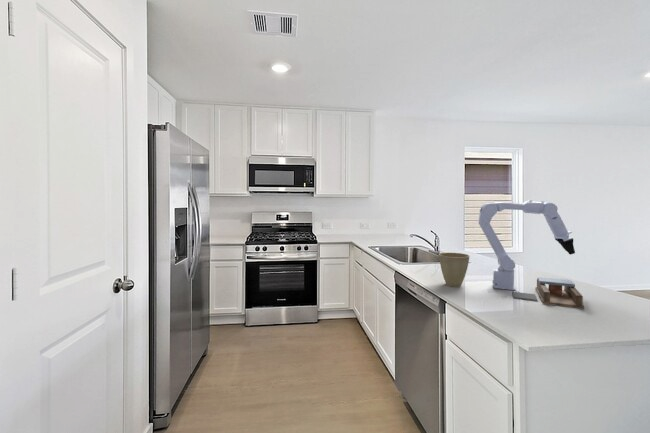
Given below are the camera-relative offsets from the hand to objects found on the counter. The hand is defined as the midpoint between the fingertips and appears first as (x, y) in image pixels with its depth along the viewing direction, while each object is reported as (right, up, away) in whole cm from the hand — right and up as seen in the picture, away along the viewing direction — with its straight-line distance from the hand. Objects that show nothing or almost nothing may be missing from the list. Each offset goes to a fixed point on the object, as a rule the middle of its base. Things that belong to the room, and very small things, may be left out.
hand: (570, 252), depth 147 cm
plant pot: (-49, -19, +17) cm, 55 cm away
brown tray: (-11, -20, -6) cm, 24 cm away
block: (-8, -20, -1) cm, 22 cm away
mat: (-24, -20, -4) cm, 32 cm away
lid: (-8, -14, -2) cm, 17 cm away
